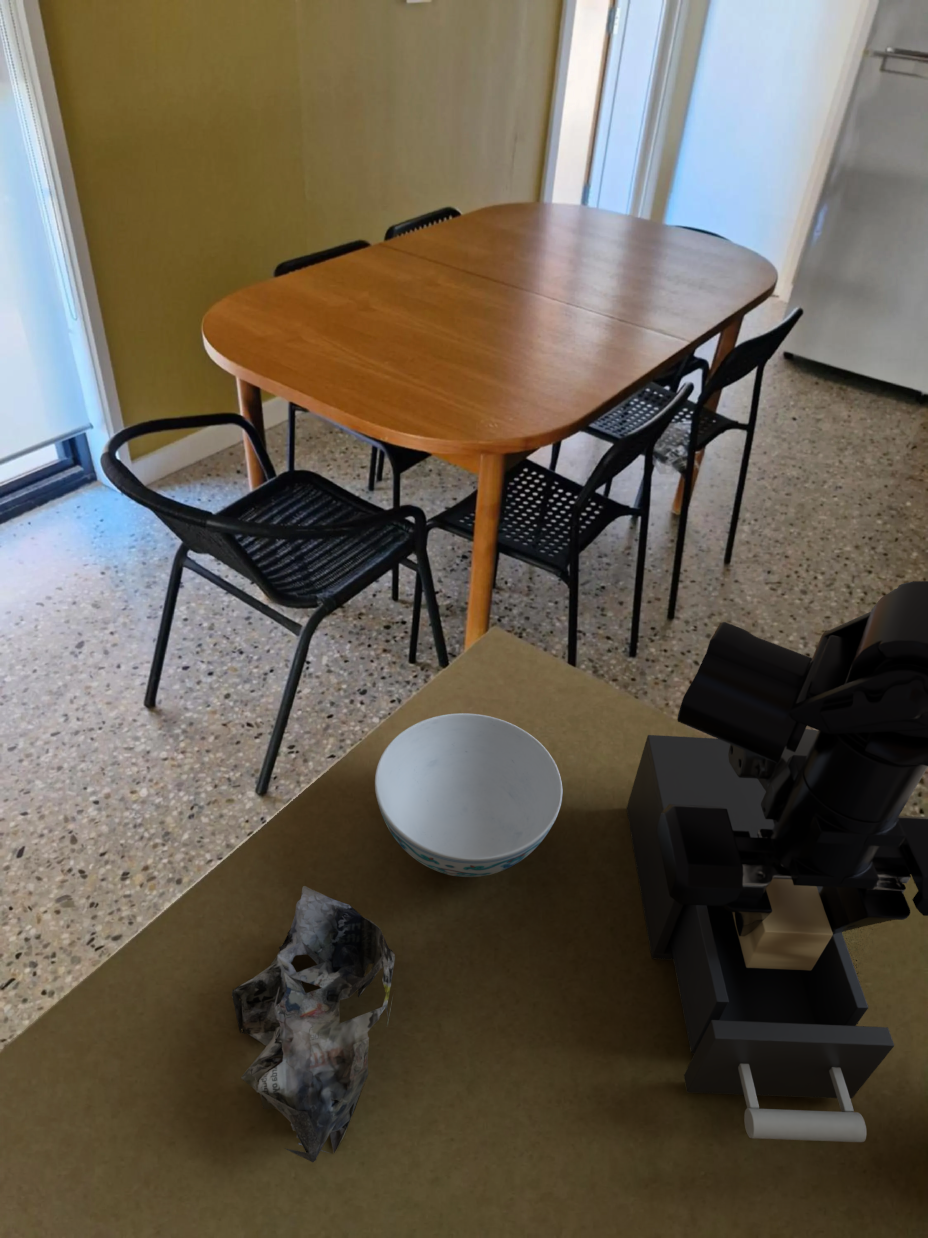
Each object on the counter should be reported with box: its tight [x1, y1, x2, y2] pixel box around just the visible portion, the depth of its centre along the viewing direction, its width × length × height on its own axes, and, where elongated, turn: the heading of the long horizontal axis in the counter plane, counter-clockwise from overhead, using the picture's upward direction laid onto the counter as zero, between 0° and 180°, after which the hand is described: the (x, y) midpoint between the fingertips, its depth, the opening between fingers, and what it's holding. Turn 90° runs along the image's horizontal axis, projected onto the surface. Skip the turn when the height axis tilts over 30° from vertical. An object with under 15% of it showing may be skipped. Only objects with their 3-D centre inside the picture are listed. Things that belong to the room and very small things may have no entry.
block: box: [732, 879, 833, 970], centre depth 60 cm, size 4×4×4 cm
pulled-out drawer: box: [670, 905, 895, 1143], centre depth 61 cm, size 18×11×8 cm, turn 179°
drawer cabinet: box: [626, 734, 823, 961], centre depth 71 cm, size 15×13×10 cm
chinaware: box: [374, 712, 563, 878], centre depth 73 cm, size 15×15×8 cm
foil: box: [231, 885, 396, 1163], centre depth 60 cm, size 12×11×15 cm
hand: (774, 931), depth 61 cm, fingers closed on block, 4 cm apart
